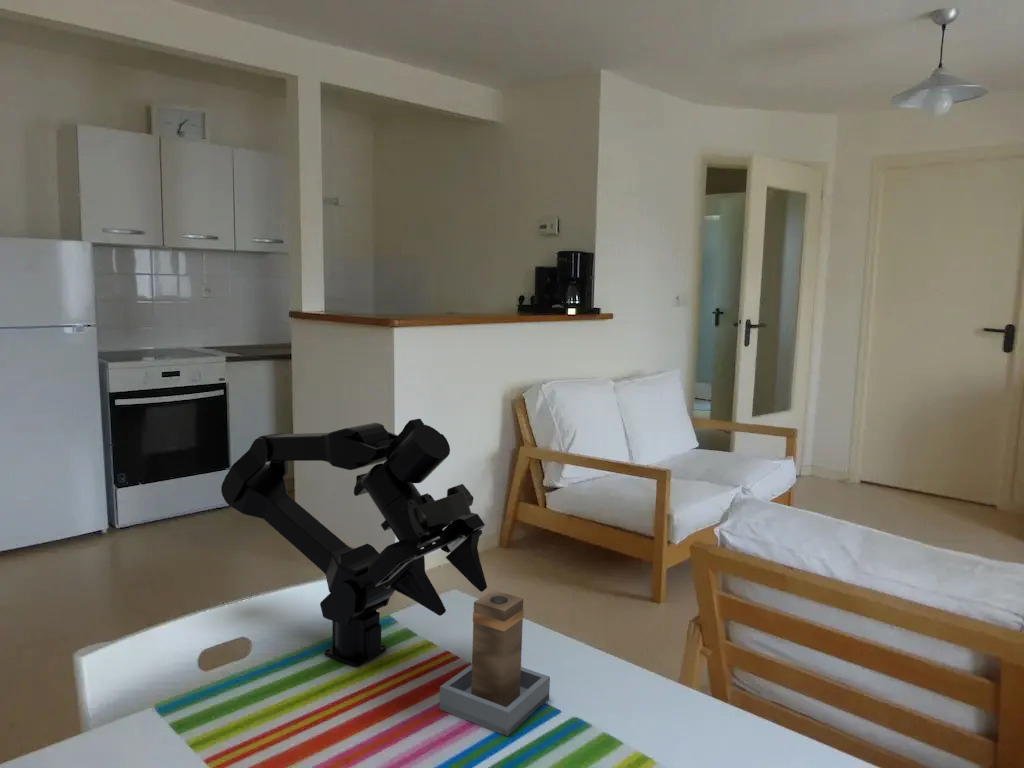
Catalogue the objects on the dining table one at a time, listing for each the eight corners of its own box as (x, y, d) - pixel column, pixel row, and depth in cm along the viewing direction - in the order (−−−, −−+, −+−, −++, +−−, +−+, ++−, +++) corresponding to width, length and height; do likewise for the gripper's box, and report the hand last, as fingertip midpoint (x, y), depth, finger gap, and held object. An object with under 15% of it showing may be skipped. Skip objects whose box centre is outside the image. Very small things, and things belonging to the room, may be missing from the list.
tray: (439, 709, 93) (440, 686, 93) (484, 675, 102) (485, 654, 102) (507, 736, 88) (508, 712, 88) (549, 698, 97) (550, 676, 96)
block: (470, 700, 94) (473, 601, 93) (490, 684, 98) (493, 589, 97) (501, 711, 92) (504, 610, 90) (520, 695, 96) (524, 597, 94)
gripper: (387, 482, 89) (459, 593, 85) (475, 456, 105) (540, 548, 101) (338, 532, 94) (404, 640, 90) (429, 500, 110) (489, 590, 106)
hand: (464, 601), depth 96 cm, fingers open, 9 cm apart
